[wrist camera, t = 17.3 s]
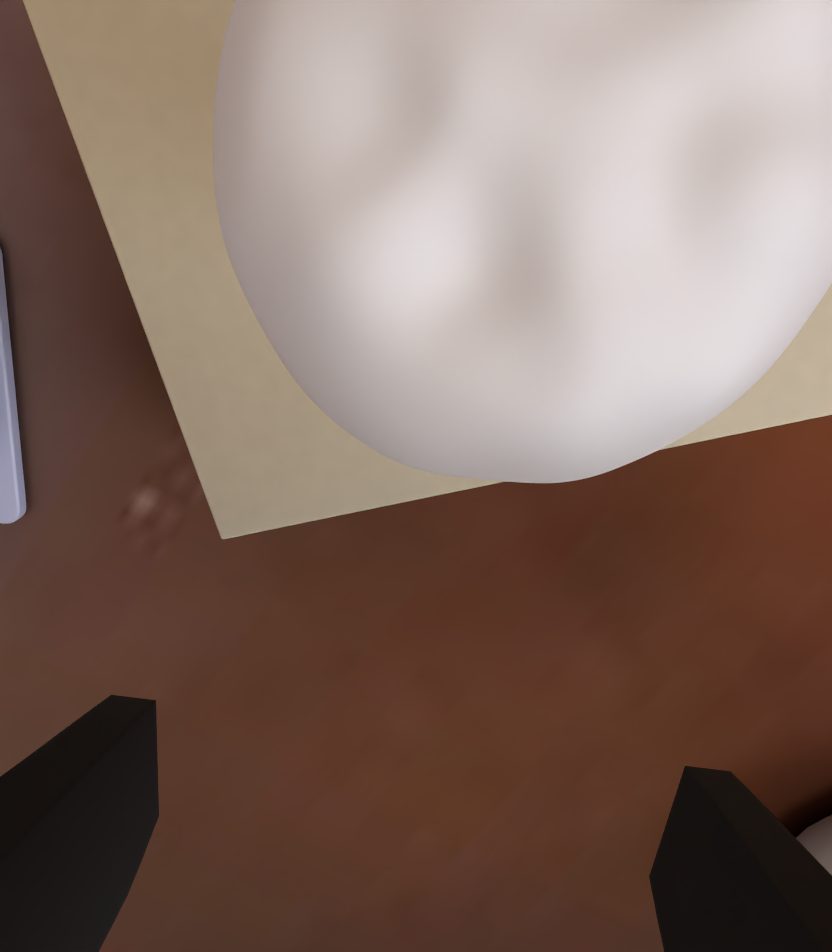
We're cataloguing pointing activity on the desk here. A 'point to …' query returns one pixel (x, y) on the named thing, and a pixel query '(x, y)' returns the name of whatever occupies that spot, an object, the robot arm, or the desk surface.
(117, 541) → the desk surface
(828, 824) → the donut
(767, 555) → the desk surface
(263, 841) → the desk surface
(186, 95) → the lunchbox lid
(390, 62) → the milkshake
